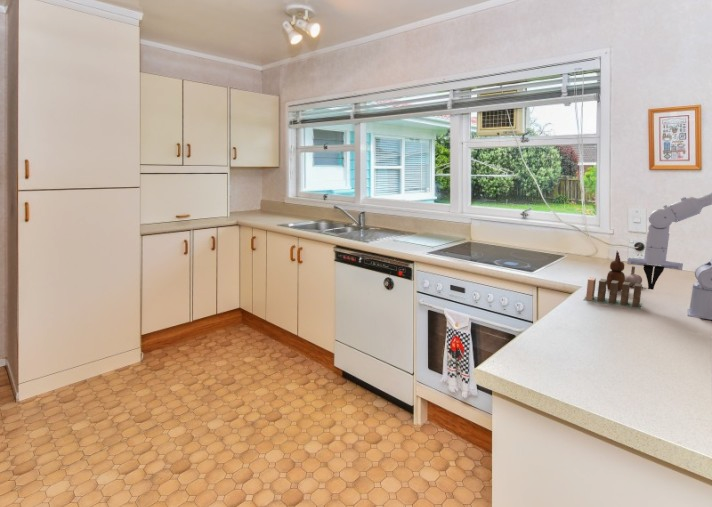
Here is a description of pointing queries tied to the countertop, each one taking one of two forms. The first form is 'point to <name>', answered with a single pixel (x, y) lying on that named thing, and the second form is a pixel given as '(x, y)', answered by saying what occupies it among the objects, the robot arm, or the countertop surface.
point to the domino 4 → (636, 295)
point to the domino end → (590, 288)
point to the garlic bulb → (633, 278)
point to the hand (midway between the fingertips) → (650, 288)
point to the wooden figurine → (616, 272)
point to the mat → (612, 303)
